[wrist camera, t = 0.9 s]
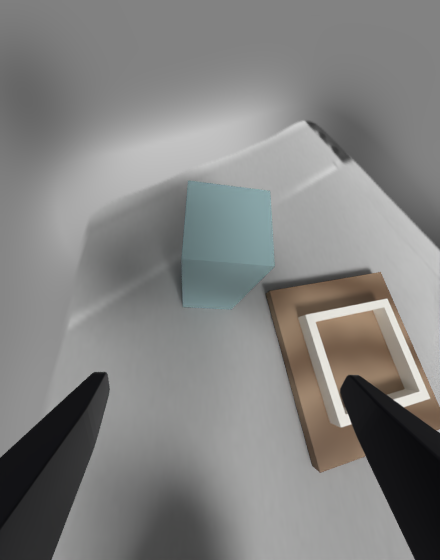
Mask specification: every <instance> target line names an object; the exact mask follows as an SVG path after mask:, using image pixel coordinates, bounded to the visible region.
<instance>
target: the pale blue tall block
mask: <svg viewBox="0 0 440 560" xmlns="http://www.w3.org/2000/svg"><path fill="white" fill-rule="evenodd" d="M181 262H182V296H183V307H194V308H213V309H232V308H233V307H234V306H235V305H236V304H237V303H238V302H239V301H240V300H241V299H242V298H243V297H244V296H245V295H246V294H247V293H248V292H249V291H250V290H251V289H252V288H253V287H254V286H255V285H256V284H257V283H258V282H259V281H260V280H262V279H263V278H264V277H265V276H266V275H267V274H268V273H269V272H270V271H271V270H272V269H273V268H274V267H275V263H274V246H273V230H272V213H271V196H270V191H266V190H259V189H251V188H243V187H235V186H227V185H220V184H212V183H204V182H196V181H188V188H187V200H186V211H185V223H184V235H183V246H182V258H181Z"/></svg>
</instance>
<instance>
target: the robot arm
mask: <svg viewBox="0 0 440 560" xmlns="http://www.w3.org/2000/svg"><path fill="white" fill-rule="evenodd" d="M109 390H110V388H109V381H108V375H107V373H106V372H94V373H92V374H91V375H90V376H89V377H88V378H87V379H86V380H84V381H83V382H82V383H81V384H80V385H79V386H78V387H77V388H76V389H75V390H74V391H72V392H71V393H70V394H69V395H68V396H67V397H66V398H65V399H64V400H63V401H62V402H60V403H59V404H58V405H57V406H56V407H55V408H54V409H53V410H52V411H51V412H50V413H48V414H47V415H46V416H45V417H44V418H43V419H42V420H41V421H40V422H39V423H38V424H36V425H35V426H34V427H33V428H32V429H31V430H30V431H29V432H28V433H27V434H26V435H24V436H23V437H22V438H21V439H20V440H19V441H18V442H17V443H16V444H15V445H14V446H12V447H11V449H9V450H8V451H7V452H6V453H5V454H4V455H3V456H2V457H1V458H0V560H51V559H52V557H53V554H54V552H55V549H56V546H57V544H58V541H59V538H60V536H61V533H62V531H63V528H64V525H65V523H66V520H67V517H68V515H69V512H70V510H71V507H72V504H73V502H74V499H75V496H76V494H77V491H78V489H79V486H80V483H81V481H82V478H83V476H84V473H85V470H86V468H87V465H88V462H89V460H90V457H91V455H92V452H93V449H94V446H95V443H96V440H97V436H98V433H99V429H100V425H101V422H102V418H103V414H104V411H105V407H106V403H107V400H108V396H109ZM340 394H341V397H342V400H343V402H344V405H345V408H346V410H347V413H348V416H349V418H350V421H351V424H352V426H353V429H354V431H355V434H356V436H357V439H358V441H359V443H360V445H361V447H362V449H363V451H364V454H365V456H366V458H367V460H368V462H369V464H370V466H371V468H372V470H373V472H374V475H375V477H376V479H377V481H378V483H379V485H380V487H381V489H382V491H383V493H384V496H385V498H386V500H387V502H388V504H389V506H390V508H391V510H392V512H393V514H394V517H395V519H396V521H397V523H398V525H399V527H400V529H401V531H402V533H403V535H404V538H405V540H406V542H407V544H408V546H409V548H410V550H411V552H412V554H413V557H414V559H415V560H440V433H439V432H438V431H436V430H435V429H433V428H432V427H431V426H429V425H428V424H426V423H425V422H424V421H422V420H421V419H420V418H418V417H417V416H415V415H414V414H413V413H411V412H410V411H408V410H407V409H406V408H404V407H403V406H401V405H400V404H399V403H397V402H396V401H395V400H393V399H392V398H390V397H389V396H388V395H386V394H385V393H383V392H382V391H381V390H379V389H378V388H376V387H375V386H374V385H372V384H371V383H370V382H368V381H367V380H365V379H364V378H363V377H361V376H359V375H348V376H347V377H346V378H345V380H344V382H343V384H342V386H341V388H340Z"/></svg>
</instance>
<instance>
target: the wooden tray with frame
mask: <svg viewBox="0 0 440 560" xmlns="http://www.w3.org/2000/svg"><path fill="white" fill-rule="evenodd" d="M266 297H267V300H268V304H269V308H270V311H271V315H272V319H273V322H274V326H275V330H276V333H277V337H278V341H279V344H280V348H281V352H282V355H283V359H284V363H285V367H286V370H287V374H288V378H289V381H290V385H291V389H292V392H293V396H294V400H295V403H296V407H297V411H298V414H299V418H300V422H301V425H302V429H303V433H304V436H305V440H306V444H307V447H308V451H309V455H310V458H311V462H312V466H313V467H314V468H315V469H316V470H318V471H319V472H320V473H321V472H324V471H326V470H329V469H332V468H335V467H337V466H340V465H343V464H346V463H348V462H351V461H354V460H357V459H359V458H362V457H365V454H364V451H363V449H362V447H361V445H360V443H359V441H358V439H357V436H356V434H355V431H354V429H353V426H352V424H351V421H350V418H349V416H348V413H347V410H346V408H345V405H344V402H343V400H342V397H341V394H340V388H341V386H342V384H343V382H344V380H345V378H346V377H347V376H348V375H359V376H361V377H363V378H364V379H365V380H367V381H368V382H370V383H371V384H372V385H374V386H375V387H376V388H378V389H379V390H381V391H382V392H383V393H385V394H386V395H388V396H389V397H390V398H392V399H393V400H395V401H396V402H397V403H399V404H400V405H401V406H403V407H404V408H406V409H407V410H408V411H410V412H411V413H413V414H414V415H415V416H417V417H418V418H420V419H421V420H422V421H424V422H425V423H426V424H428V425H429V426H431V427H432V428H433V429H435V430H439V429H440V407H439V405H438V402H437V400H436V398H435V395H434V393H433V391H432V389H431V386H430V384H429V382H428V379H427V377H426V375H425V373H424V370H423V368H422V366H421V363H420V361H419V359H418V357H417V354H416V352H415V350H414V347H413V345H412V343H411V341H410V338H409V336H408V334H407V331H406V329H405V327H404V324H403V322H402V320H401V318H400V315H399V313H398V311H397V308H396V306H395V304H394V302H393V299H392V297H391V295H390V292H389V290H388V288H387V286H386V283H385V281H384V279H383V276H382V274H381V272H378V273H372V274H367V275H361V276H355V277H349V278H343V279H337V280H331V281H325V282H319V283H313V284H308V285H302V286H296V287H290V288H284V289H278V290H272V291H269V292H268V293H266Z"/></svg>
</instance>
